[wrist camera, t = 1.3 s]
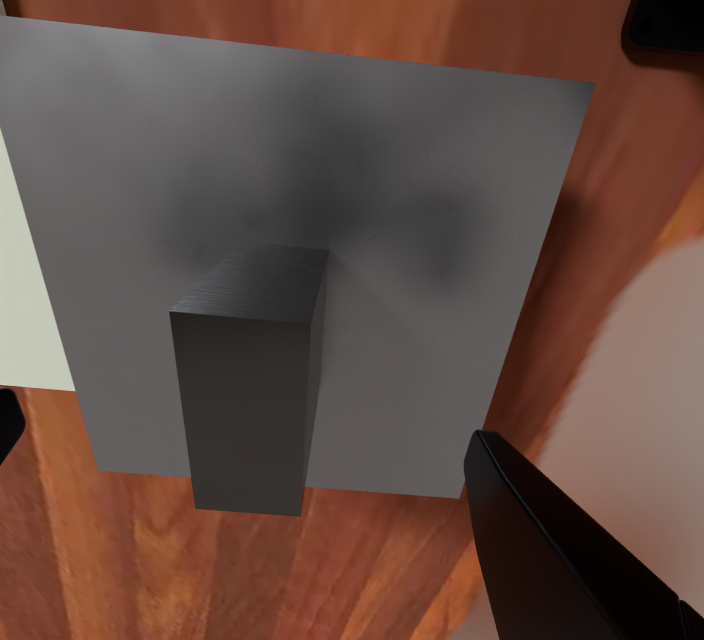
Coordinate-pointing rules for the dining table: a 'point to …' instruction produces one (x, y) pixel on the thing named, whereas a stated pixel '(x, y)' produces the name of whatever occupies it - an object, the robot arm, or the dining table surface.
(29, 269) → the mat
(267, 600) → the dining table surface
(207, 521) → the dining table surface
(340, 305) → the lid
